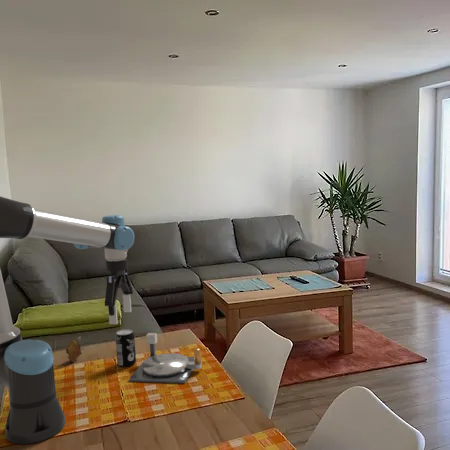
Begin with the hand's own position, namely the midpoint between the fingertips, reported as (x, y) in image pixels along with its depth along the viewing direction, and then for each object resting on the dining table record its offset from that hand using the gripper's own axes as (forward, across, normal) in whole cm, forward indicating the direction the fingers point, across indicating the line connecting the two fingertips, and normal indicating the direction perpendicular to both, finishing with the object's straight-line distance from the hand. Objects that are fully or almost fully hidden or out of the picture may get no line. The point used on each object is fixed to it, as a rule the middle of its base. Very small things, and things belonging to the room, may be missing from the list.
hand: (120, 317), depth 168 cm
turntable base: (+17, -5, -17) cm, 24 cm away
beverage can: (+17, 0, -1) cm, 17 cm away
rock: (+17, +2, +20) cm, 26 cm away
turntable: (+16, -5, -19) cm, 25 cm away
